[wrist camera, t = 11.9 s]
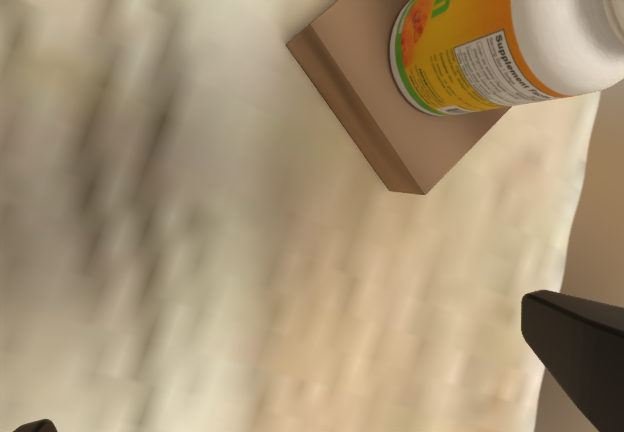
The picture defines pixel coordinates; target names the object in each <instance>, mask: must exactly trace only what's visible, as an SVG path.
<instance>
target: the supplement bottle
mask: <svg viewBox="0 0 624 432" xmlns="http://www.w3.org/2000/svg"><path fill="white" fill-rule="evenodd" d="M390 62H391V68H392V72H393V75H394V78H395V81H396V83H397V85H398V87H399V88H400V90H401V92H402V93H403V95H404V96H405V97H406V98H407V100H408V101H409V102H410V103H411V104H412V105H414V106H415V107H416V108H418V109H419V110H421V111H423V112H426V113H428V114H431V115H436V116H450V115H459V114H466V113H472V112H478V111H484V110H490V109H497V108H503V107H509V106H516V105H522V104H528V103H534V102H540V101H547V100H553V99H560V98H565V97H572V96H578V95H583V94H588V93H592V92H596V91H600V90H603V89H606V88H608V87H610V86H612V85H614V84H616V83H617V82H619V81H620V80H622V79H623V78H624V0H410V1H409V2H408V3H407V4H406V6H405V7H404V8H403V9H402V11H401V12H400V14H399V16H398V18H397V20H396V22H395V24H394V27H393V31H392V35H391V41H390Z"/></svg>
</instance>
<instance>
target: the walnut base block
mask: <svg viewBox="0 0 624 432" xmlns="http://www.w3.org/2000/svg"><path fill="white" fill-rule="evenodd" d="M409 1H410V0H339V1H337V2H336V3H335V4H334V5H333V6H331V7H330V8H329V9H328V10H326V11H325V12H324V13H323V14H322V15H320V16H319V17H318V18H317V19H315V20H314V21H313V22H312V23H311V24H309V25H308V26H307V27H306V28H305V29H304V30H302V31H301V32H300V33H299V34H298V35H297V36H295V37H294V38H293V39H292V40H291V41H290V42H289V43H287V44H286V46H287V47H288V49H289V50H290V51H291V53H292V54H293V56H294V57H295V58H296V60H297V61H298V63H299V64H300V65H301V67H302V68H303V70H304V71H305V73H306V74H307V75H308V77H309V78H310V80H311V81H312V82H313V84H314V85H315V87H316V88H317V89H318V91H319V92H320V94H321V95H322V96H323V98H324V99H325V101H326V102H327V103H328V105H329V106H330V108H331V109H332V111H333V112H334V113H335V115H336V116H337V118H338V119H339V120H340V122H341V123H342V125H343V126H344V127H345V129H346V130H347V132H348V133H349V134H350V136H351V137H352V139H353V140H354V142H355V143H356V144H357V146H358V147H359V149H360V150H361V151H362V153H363V154H364V156H365V157H366V158H367V160H368V161H369V163H370V164H371V165H372V167H373V168H374V170H375V171H376V172H377V174H378V175H379V177H380V178H381V180H382V181H383V182H384V184H385V185H386V187H387V188H388V189H389V191H394V192H402V193H411V194H420V195H426V194H427V193H428V192H429V191H430V190H431V189H432V188H433V187H434V186H435V185H436V184H437V183H438V182H439V181H440V180H441V179H442V178H443V177H444V175H445V174H446V173H447V172H448V171H449V170H450V169H451V168H452V167H453V166H454V165H455V164H456V163H457V162H458V161H459V160H460V159H461V158H462V157H463V156H464V155H465V154H466V153H467V152H468V151H469V150H470V149H471V148H472V147H473V146H474V145H475V144H476V143H477V142H478V141H479V140H480V139H481V138H482V137H483V136H484V135H485V134H486V133H487V131H488V130H489V129H490V128H491V127H492V126H493V125H494V124H495V123H496V122H497V121H498V120H499V119H500V118H501V117H502V116H503V115H504V114H505V113H506V112H507V111H508V110H509V109H510V108H511V107H512V106H509V107H503V108H497V109H490V110H484V111H478V112H472V113H466V114H459V115H450V116H436V115H431V114H428V113H426V112H423V111H421V110H419V109H418V108H416V107H415V106H414V105H412V104H411V103H410V102H409V101H408V100H407V98H406V97H405V96H404V95H403V93H402V92H401V90H400V88H399V87H398V85H397V83H396V81H395V78H394V75H393V72H392V68H391V62H390V41H391V35H392V31H393V27H394V24H395V22H396V20H397V18H398V16H399V14H400V12H401V11H402V9H403V8H404V7H405V6H406V4H407V3H408V2H409Z"/></svg>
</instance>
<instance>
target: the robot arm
mask: <svg viewBox="0 0 624 432" xmlns="http://www.w3.org/2000/svg"><path fill="white" fill-rule="evenodd" d="M521 331H522V335H523V337H524V339H525V341H526V342H527V344H528V345H529V346H530V348H531V349H532V350H533V351H534V353H535V354H536V355H537V357H538V358H539V359H540V360H541V362H542V363H543V364H544V366H545V367H546V368H547V369H548V371H549V372H550V373H551V375H552V376H553V377H554V379H555V380H556V381H557V382H558V384H559V385H560V386H561V387H562V389H563V390H564V391H565V393H566V394H567V395H568V397H569V398H570V399H571V400H572V401H573V403H574V404H575V405H576V406H577V408H578V409H579V410H580V411H581V412H582V413H583V414H584V415H585V417H586V418H587V419H588V420H589V421H590V422H591V423H592V424H593V425H594V426H595V427H596V429H597V430H598V431H599V432H624V308H622V307H617V306H613V305H609V304H604V303H600V302H596V301H592V300H587V299H583V298H579V297H574V296H570V295H566V294H561V293H557V292H553V291H548V290H539V291H535V292H531V293H527V294H525V295H524V296H523V298H522V302H521ZM13 432H57V430H56V427H55V425H54V424H53V422H52V421H50V420H49V419H42V420H38V421H35V422H31V423H27V424H24V425H21V426H20V427H18V428H17V429H16V430H15V431H13Z"/></svg>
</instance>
